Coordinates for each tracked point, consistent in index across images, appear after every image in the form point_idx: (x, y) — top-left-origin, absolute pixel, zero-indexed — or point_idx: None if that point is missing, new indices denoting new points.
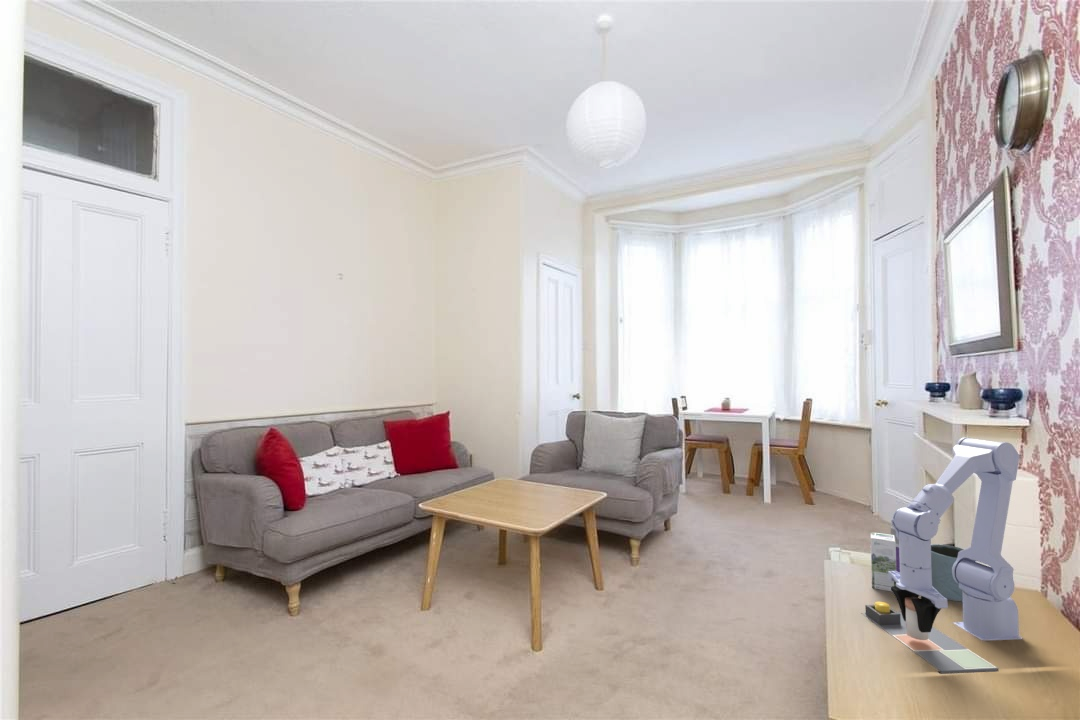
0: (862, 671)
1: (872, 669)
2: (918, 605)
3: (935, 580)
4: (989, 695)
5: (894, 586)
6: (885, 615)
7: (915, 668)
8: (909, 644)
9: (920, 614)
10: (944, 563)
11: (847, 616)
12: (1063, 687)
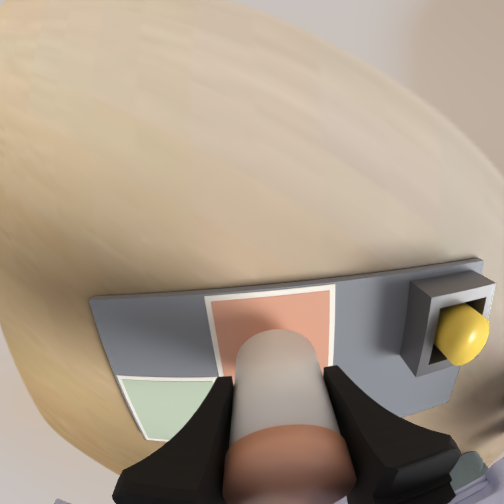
0: (96, 44)
1: (103, 76)
2: (127, 476)
3: (473, 480)
4: (37, 342)
5: (450, 467)
6: (425, 321)
7: (111, 234)
8: (256, 309)
9: (173, 438)
10: None
11: (479, 203)
12: (120, 471)
